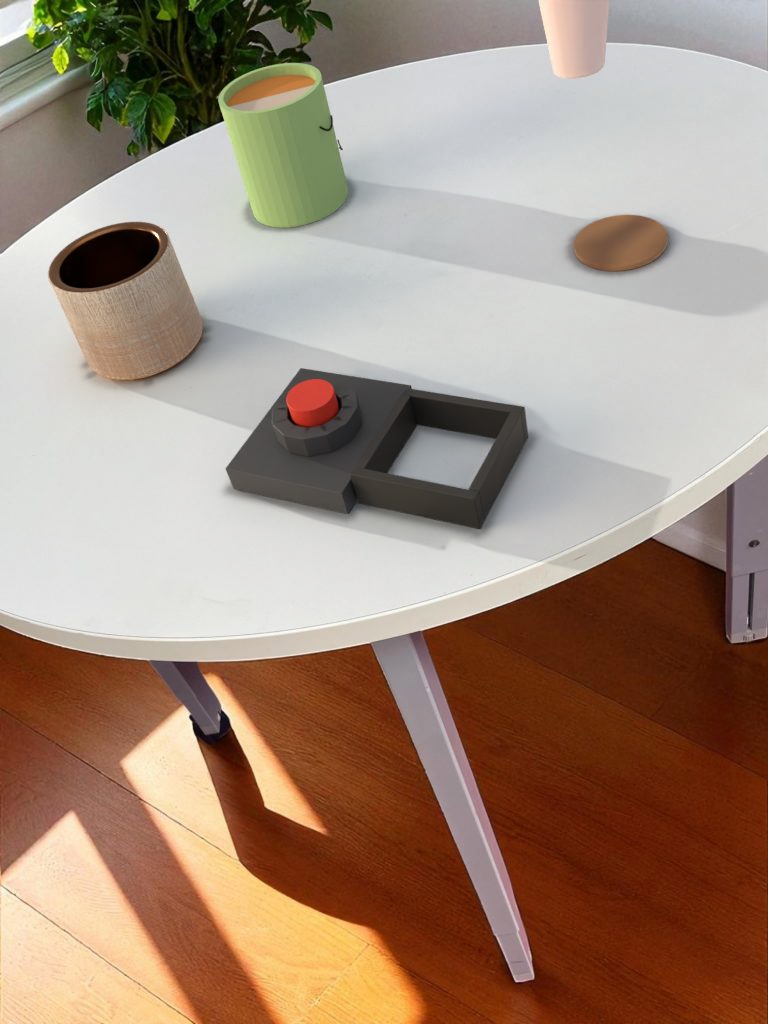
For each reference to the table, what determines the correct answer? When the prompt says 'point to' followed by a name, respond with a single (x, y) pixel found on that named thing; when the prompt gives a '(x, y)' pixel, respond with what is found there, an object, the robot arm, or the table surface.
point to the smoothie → (576, 35)
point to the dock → (434, 497)
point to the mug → (285, 144)
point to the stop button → (312, 403)
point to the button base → (314, 444)
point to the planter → (126, 300)
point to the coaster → (620, 242)
